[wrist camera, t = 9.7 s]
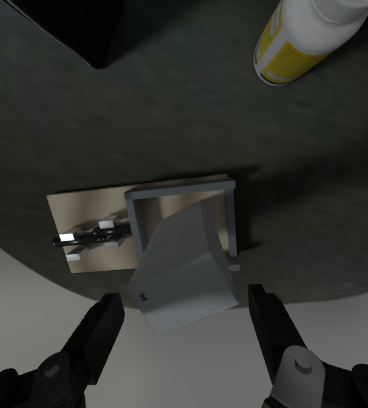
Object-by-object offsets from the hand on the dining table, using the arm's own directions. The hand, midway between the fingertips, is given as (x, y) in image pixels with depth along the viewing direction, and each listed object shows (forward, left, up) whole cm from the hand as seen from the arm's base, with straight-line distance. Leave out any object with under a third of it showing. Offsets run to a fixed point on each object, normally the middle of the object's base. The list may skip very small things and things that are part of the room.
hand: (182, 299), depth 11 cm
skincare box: (0, 0, -12) cm, 12 cm away
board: (+6, 0, -13) cm, 14 cm away
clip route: (+12, 0, -12) cm, 17 cm away
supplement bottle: (-11, -17, -13) cm, 24 cm away
